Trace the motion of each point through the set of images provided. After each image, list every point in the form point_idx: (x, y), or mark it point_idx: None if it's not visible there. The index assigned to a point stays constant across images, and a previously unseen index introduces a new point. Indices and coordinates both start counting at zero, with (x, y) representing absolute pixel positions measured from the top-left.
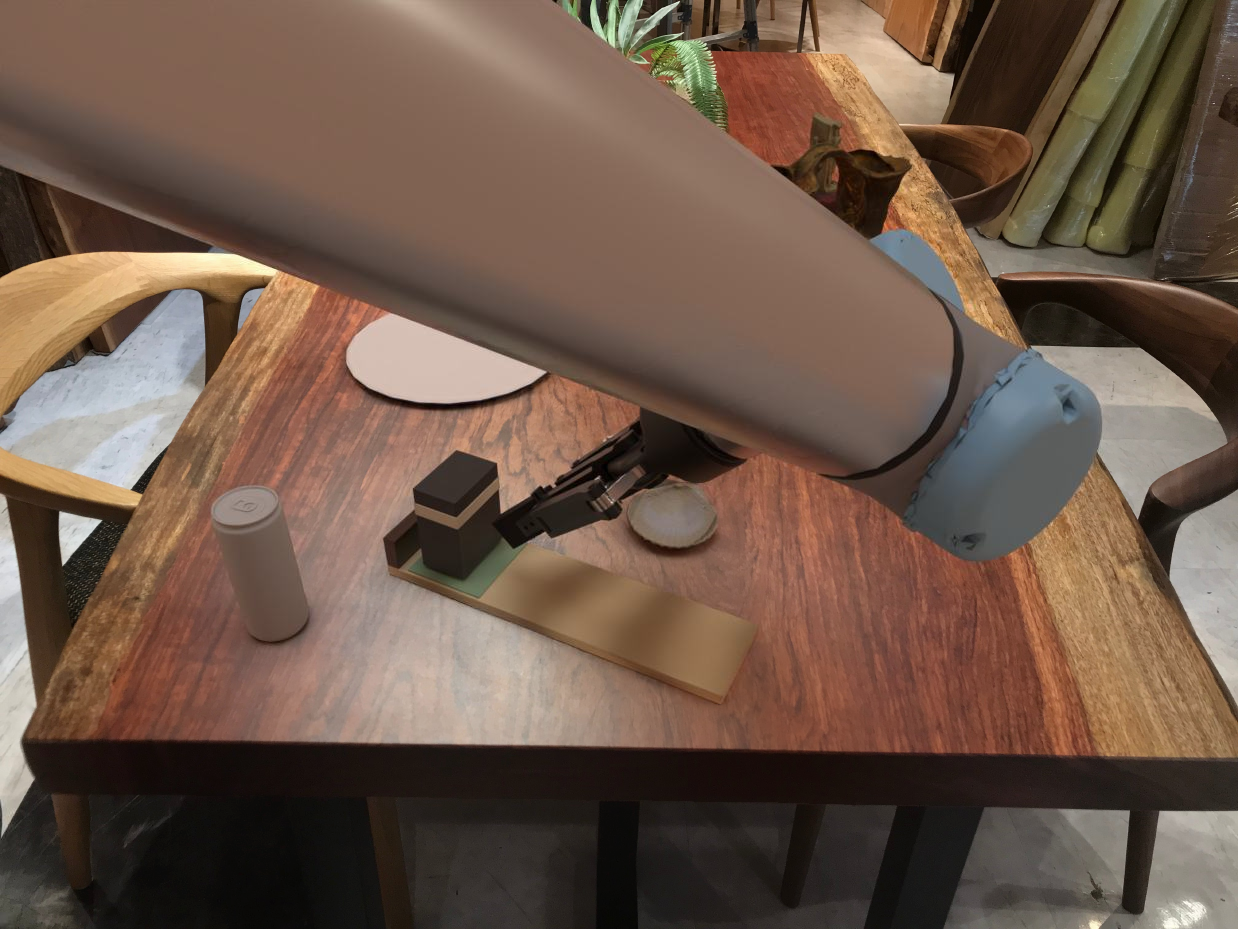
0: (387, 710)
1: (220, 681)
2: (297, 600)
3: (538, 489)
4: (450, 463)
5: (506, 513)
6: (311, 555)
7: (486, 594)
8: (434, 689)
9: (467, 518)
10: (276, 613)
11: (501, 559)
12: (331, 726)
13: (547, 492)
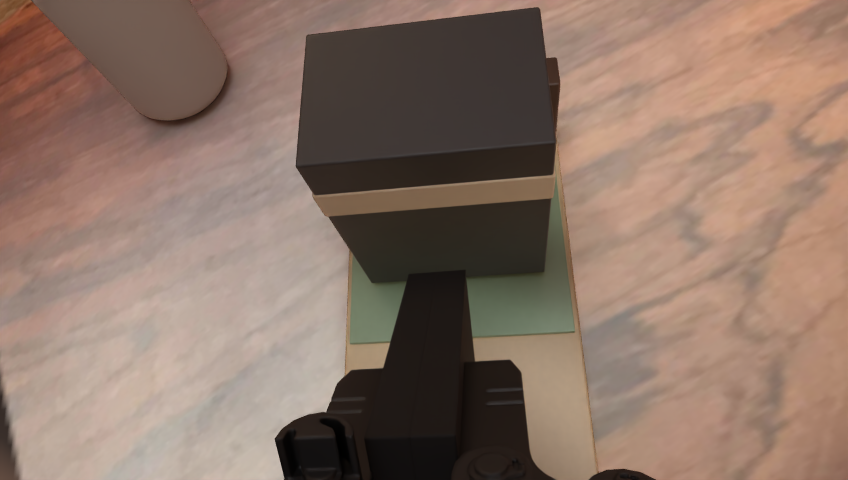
0: (65, 361)
1: (57, 105)
2: (142, 79)
3: (326, 440)
4: (466, 36)
5: (422, 300)
6: (339, 13)
7: (371, 350)
8: (131, 408)
9: (373, 210)
10: (105, 75)
11: (483, 313)
12: (15, 302)
13: (411, 450)
